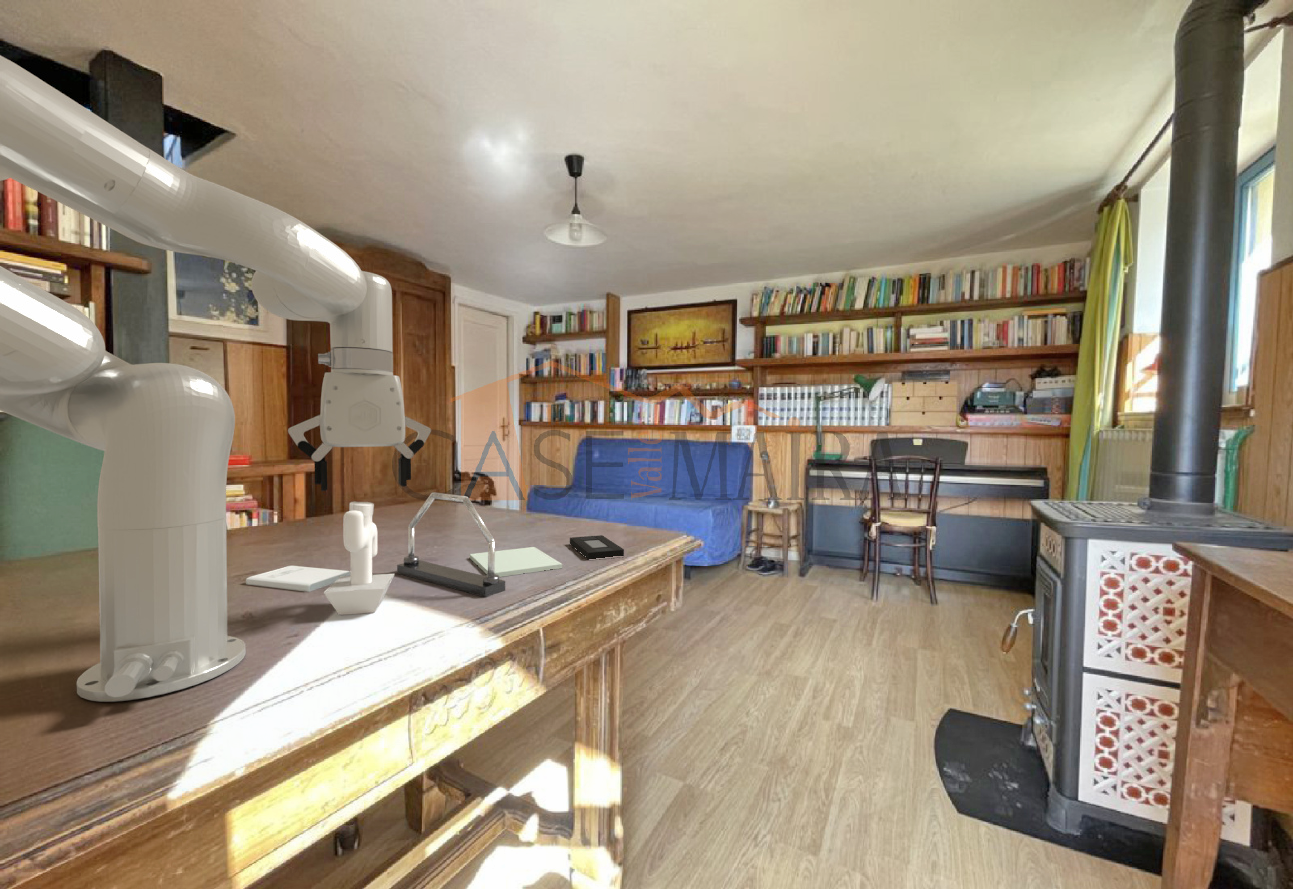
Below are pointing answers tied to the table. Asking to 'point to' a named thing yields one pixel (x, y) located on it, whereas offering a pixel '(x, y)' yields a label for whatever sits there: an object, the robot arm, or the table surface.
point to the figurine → (359, 565)
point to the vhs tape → (596, 547)
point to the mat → (516, 561)
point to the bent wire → (446, 574)
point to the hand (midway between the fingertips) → (364, 487)
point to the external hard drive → (297, 578)
